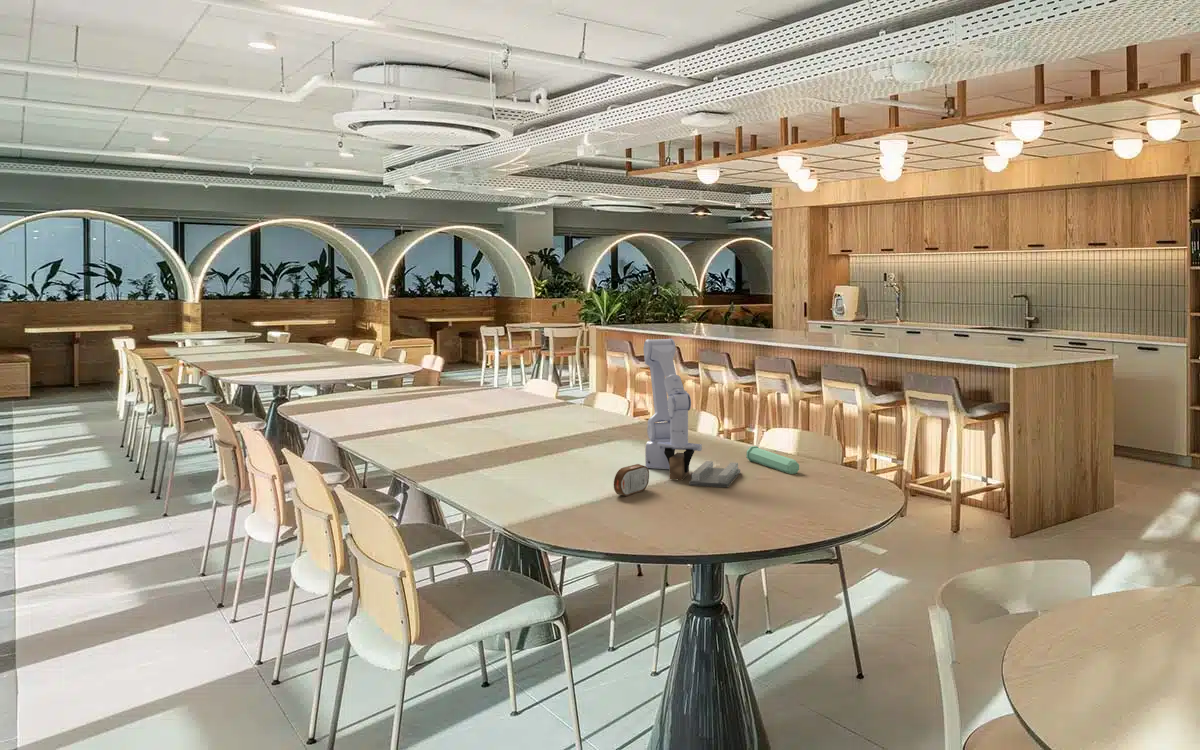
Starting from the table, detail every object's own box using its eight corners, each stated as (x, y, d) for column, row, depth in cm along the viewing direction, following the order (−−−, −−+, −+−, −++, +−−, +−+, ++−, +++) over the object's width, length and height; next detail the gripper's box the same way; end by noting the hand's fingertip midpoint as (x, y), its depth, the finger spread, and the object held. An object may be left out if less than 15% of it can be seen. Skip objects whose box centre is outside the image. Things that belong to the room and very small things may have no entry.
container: (799, 456, 293) (757, 442, 316) (785, 464, 292) (743, 450, 314) (805, 471, 295) (762, 457, 318) (791, 480, 293) (749, 464, 316)
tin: (643, 488, 277) (642, 461, 276) (651, 489, 275) (651, 462, 274) (612, 497, 266) (612, 469, 265) (621, 499, 264) (620, 471, 263)
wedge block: (669, 479, 288) (669, 458, 287) (677, 473, 298) (677, 452, 297) (681, 480, 287) (681, 458, 286) (689, 473, 296) (688, 453, 296)
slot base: (689, 485, 280) (689, 473, 280) (704, 470, 301) (704, 460, 300) (727, 487, 276) (727, 476, 276) (740, 472, 297) (740, 462, 296)
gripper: (654, 431, 289) (654, 472, 291) (698, 433, 284) (698, 475, 286) (660, 427, 296) (660, 468, 297) (703, 429, 291) (703, 470, 293)
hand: (679, 471), depth 292 cm, fingers closed on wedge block, 4 cm apart
